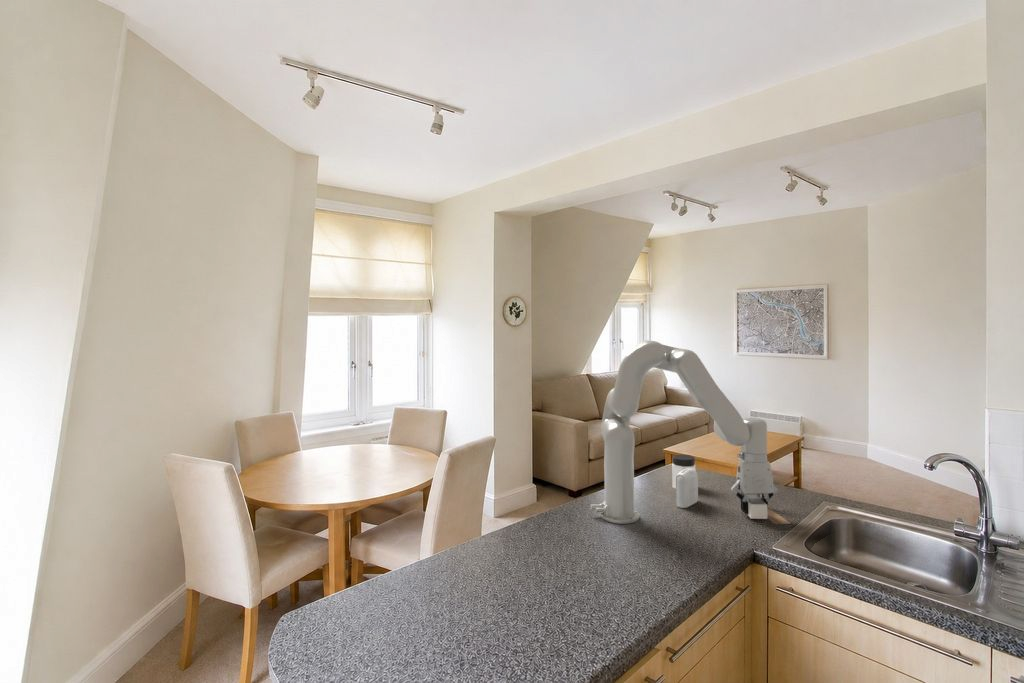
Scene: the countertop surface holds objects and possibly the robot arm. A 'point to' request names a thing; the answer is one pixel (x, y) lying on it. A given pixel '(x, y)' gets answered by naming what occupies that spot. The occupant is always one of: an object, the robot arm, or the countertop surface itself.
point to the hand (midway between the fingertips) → (754, 511)
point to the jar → (681, 465)
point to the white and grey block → (756, 507)
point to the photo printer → (686, 488)
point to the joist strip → (776, 517)
